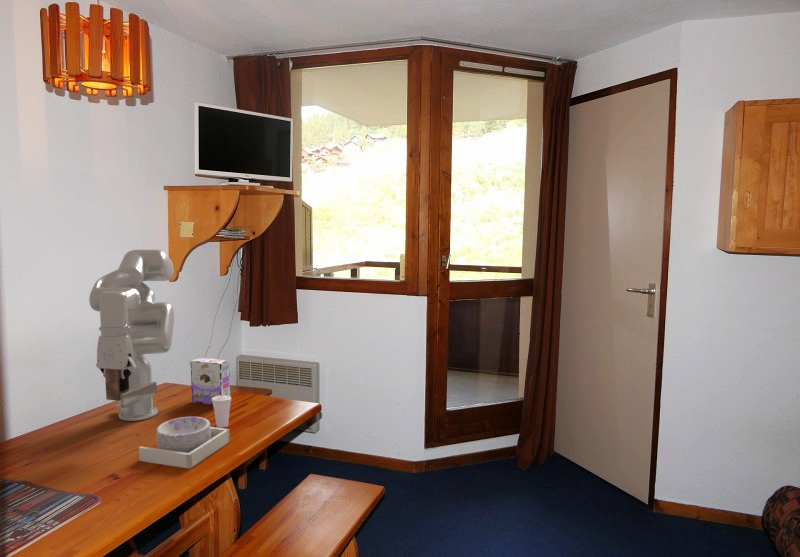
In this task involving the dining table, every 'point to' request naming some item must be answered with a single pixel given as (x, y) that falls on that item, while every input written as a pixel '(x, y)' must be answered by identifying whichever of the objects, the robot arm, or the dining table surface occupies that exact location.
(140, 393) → the scraper
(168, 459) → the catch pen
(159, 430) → the paper bowls
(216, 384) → the candy box
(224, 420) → the smoothie
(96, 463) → the dining table surface
